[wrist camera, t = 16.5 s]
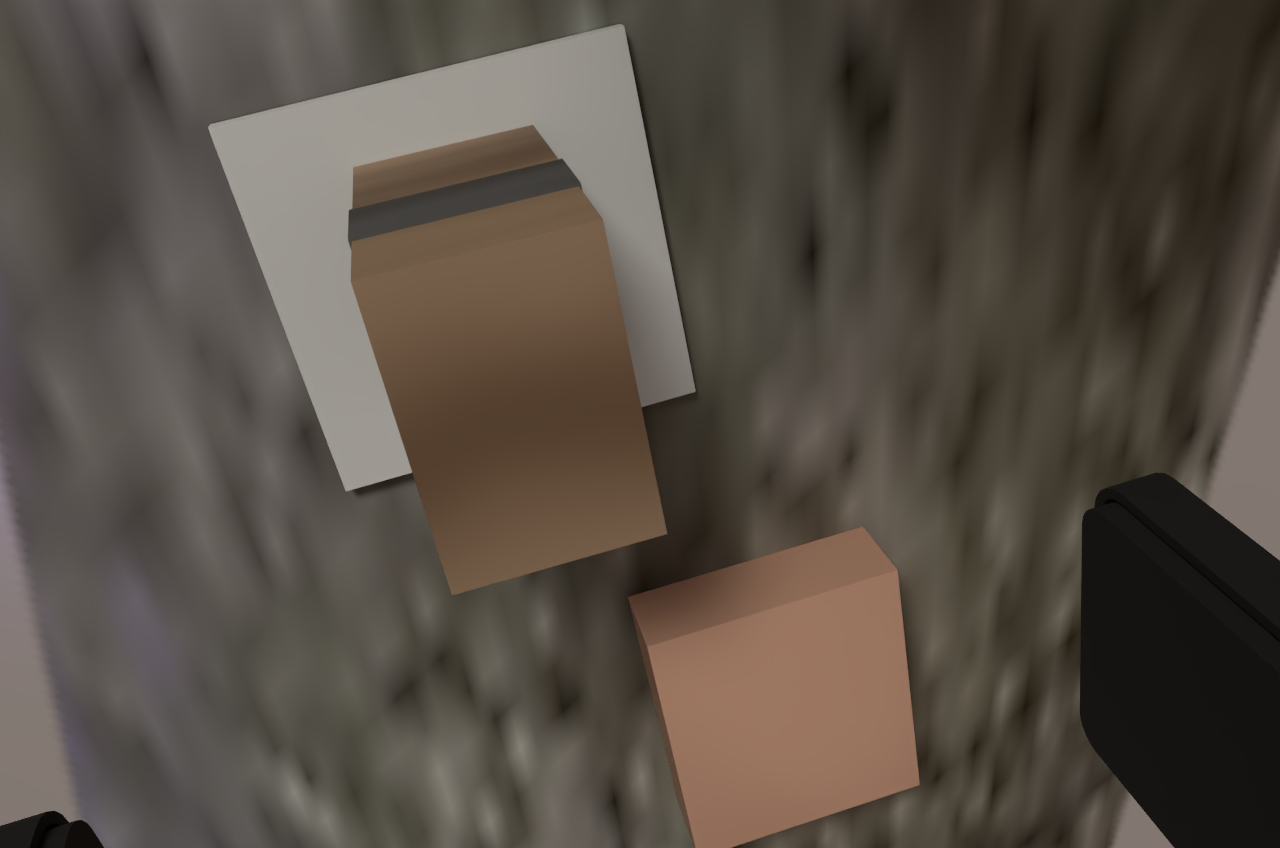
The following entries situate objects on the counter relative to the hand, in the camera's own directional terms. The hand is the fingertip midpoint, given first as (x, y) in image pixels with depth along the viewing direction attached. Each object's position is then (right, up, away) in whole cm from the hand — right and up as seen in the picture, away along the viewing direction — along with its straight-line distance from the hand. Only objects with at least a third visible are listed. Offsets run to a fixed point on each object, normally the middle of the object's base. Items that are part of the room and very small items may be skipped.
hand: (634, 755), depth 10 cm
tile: (+3, -1, +20) cm, 20 cm away
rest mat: (-4, +7, +16) cm, 17 cm away
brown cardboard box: (-4, +7, +15) cm, 17 cm away
